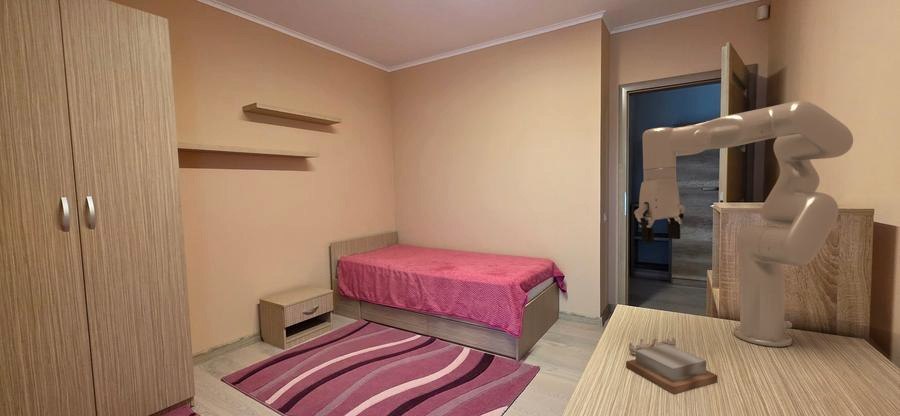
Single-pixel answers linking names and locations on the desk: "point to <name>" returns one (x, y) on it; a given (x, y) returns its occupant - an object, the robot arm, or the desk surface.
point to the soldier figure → (643, 346)
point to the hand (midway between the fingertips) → (661, 240)
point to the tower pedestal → (671, 368)
